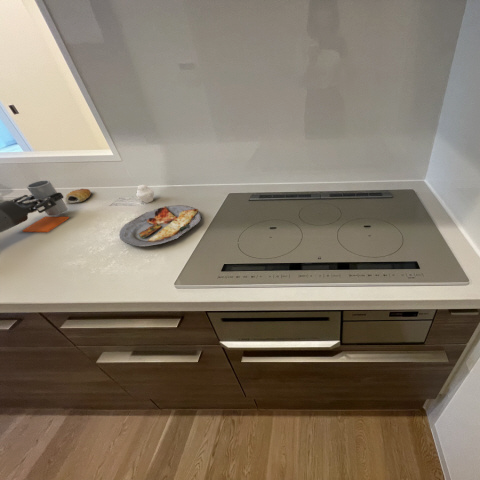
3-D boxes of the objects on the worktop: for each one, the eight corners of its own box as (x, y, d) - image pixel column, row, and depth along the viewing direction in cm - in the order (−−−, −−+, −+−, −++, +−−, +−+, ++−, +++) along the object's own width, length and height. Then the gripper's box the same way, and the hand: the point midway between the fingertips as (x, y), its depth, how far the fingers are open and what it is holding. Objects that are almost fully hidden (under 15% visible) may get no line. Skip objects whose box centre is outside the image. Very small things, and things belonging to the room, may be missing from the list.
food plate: (166, 205, 104) (163, 197, 101) (215, 215, 97) (213, 207, 95) (106, 242, 85) (100, 233, 83) (162, 257, 78) (158, 248, 76)
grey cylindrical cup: (42, 215, 96) (21, 187, 89) (56, 207, 101) (38, 180, 94) (58, 215, 96) (38, 187, 89) (72, 207, 100) (54, 180, 94)
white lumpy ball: (136, 202, 106) (129, 186, 102) (151, 196, 110) (144, 180, 106) (145, 206, 104) (137, 189, 99) (160, 199, 108) (153, 183, 104)
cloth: (23, 231, 91) (22, 230, 90) (46, 217, 98) (45, 216, 98) (47, 232, 90) (46, 230, 90) (69, 218, 98) (68, 216, 97)
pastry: (79, 193, 113) (74, 185, 111) (96, 192, 114) (92, 184, 112) (65, 204, 106) (60, 195, 104) (84, 203, 107) (78, 194, 104)
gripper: (9, 209, 80) (63, 186, 93) (-26, 205, 83) (32, 182, 96) (26, 230, 84) (75, 204, 97) (-7, 225, 87) (45, 201, 100)
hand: (54, 193), depth 96 cm, fingers closed on grey cylindrical cup, 6 cm apart
